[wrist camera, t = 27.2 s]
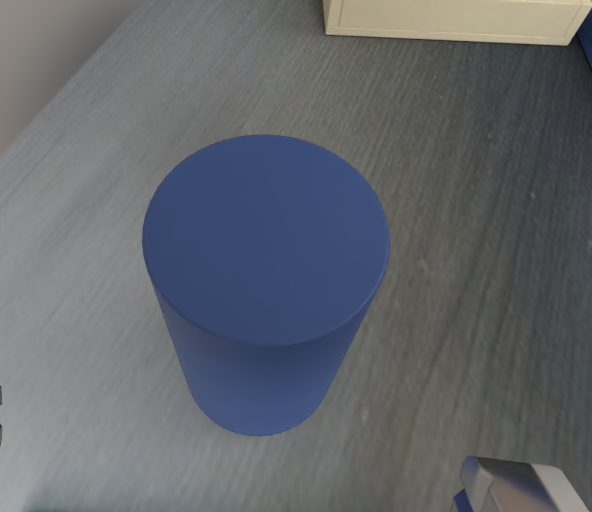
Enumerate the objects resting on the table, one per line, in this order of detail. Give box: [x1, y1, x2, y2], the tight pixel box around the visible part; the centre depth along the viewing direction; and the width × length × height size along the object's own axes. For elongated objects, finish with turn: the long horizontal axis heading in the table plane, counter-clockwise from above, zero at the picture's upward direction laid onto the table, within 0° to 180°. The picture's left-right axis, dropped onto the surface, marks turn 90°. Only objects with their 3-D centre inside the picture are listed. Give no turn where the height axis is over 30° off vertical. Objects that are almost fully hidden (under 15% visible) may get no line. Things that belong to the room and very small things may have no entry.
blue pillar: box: [142, 135, 390, 436], centre depth 15 cm, size 5×5×9 cm
